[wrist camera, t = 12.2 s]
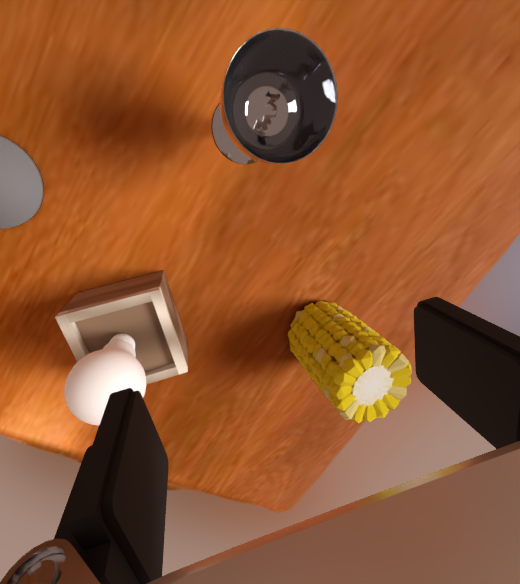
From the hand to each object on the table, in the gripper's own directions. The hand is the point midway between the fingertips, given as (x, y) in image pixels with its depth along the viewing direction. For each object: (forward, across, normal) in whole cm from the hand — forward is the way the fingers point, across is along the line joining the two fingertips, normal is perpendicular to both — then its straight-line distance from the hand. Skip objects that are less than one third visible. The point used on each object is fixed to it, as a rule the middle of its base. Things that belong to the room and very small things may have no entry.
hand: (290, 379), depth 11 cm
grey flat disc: (+30, +20, -10) cm, 38 cm away
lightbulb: (+24, +12, +8) cm, 29 cm away
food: (+31, -11, +17) cm, 37 cm away
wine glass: (+31, -6, -10) cm, 33 cm away
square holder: (+30, +12, +8) cm, 34 cm away
